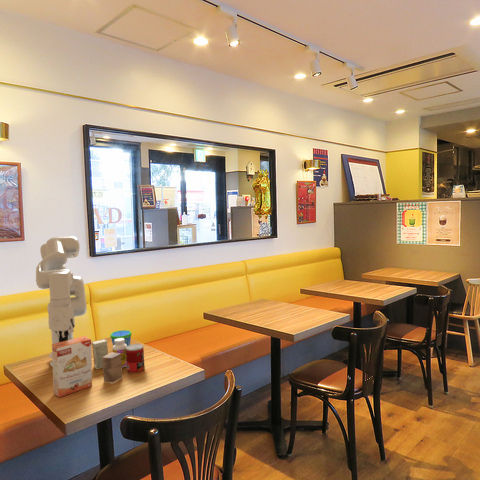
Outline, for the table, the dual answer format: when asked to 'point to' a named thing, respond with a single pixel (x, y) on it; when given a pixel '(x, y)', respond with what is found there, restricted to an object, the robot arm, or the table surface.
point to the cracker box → (71, 365)
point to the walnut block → (112, 367)
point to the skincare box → (99, 352)
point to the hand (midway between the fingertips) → (64, 345)
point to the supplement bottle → (120, 350)
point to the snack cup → (121, 336)
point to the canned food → (135, 358)
